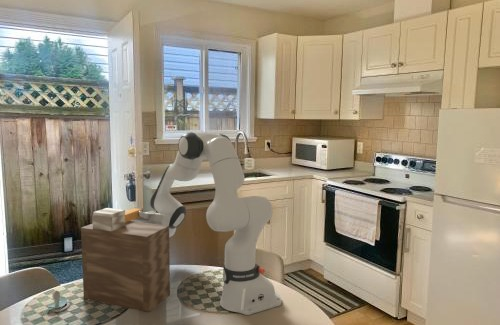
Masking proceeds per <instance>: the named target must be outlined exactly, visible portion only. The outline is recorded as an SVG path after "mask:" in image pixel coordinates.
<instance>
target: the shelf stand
mask: <svg viewBox="0 0 500 325" xmlns="http://www.w3.org/2000/svg"><path fill="white" fill-rule="evenodd" d="M125 210H126V209H120V208H119V209H118V208H111V207H105V208H103V209H99V210H96V211H95V210H94V211H93V214H92V215H91V218H92V223H91V224H88V225H85V226H82V227H80V236H81V263H82V285H83V287H82V288H83V292H82V293H83V299H84V298H85V299H84V300H88V299H89V300H88V301H92V300H93V302H97V301H98V303H102V302H103V303H104V304H108V305H112V306H116V305H117V306H118V307H121V308H126V309H131V310H136V311H140V312H145V313H149V312H151V311H152V310H154V309H155V308H156V307H157V306H158V305H159V304H161V303H162V302H163V301H164V300H166V299H167V298H168V297H169V296H171V285H170V284H171V281H170V279H171V277H170V276H171V274H170V273H171V272H170V271H171V270H170V267H171V266H170V264H171V263H170V261H171V260H170V257H171V256H170V237H169V226H167V225H159V224H151V223H142V222H134V221H129V222H126V223H125ZM103 303H102V304H103Z"/></svg>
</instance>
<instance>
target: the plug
mask: <svg viewBox="0 0 500 325" xmlns="http://www.w3.org/2000/svg"><path fill="white" fill-rule="evenodd" d="M138 211H142V212H144V208H143V207H134V208H131V209H128V211H125V223H126V222H129V221H131V220H134V219H136V218H139V217H140V216H138V215H137V214H138Z"/></svg>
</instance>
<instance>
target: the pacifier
mask: <svg viewBox="0 0 500 325" xmlns="http://www.w3.org/2000/svg"><path fill="white" fill-rule="evenodd" d="M52 300H54V301H53V302H54V303H53V304H51V305H47V306H46V307H47V308H48V309H52V310H53V312H55V313H59V312H63V311H65V310H67V309H68V308H69V307H70V305H71V304H70V303H69V302H68V298H67V297H65V296H61V293H60V291H59V290H54V291H53V292H52ZM65 304H66V306H65ZM61 307H62V308H61ZM60 308H61V309H60Z"/></svg>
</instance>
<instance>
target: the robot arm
mask: <svg viewBox="0 0 500 325" xmlns="http://www.w3.org/2000/svg"><path fill="white" fill-rule="evenodd" d="M177 145H178V147H177V148H178V151H177V154H176V157H175V160H174V161H173V163H170V164H169V165H168V166H167V167H166V169H165V170H164V172H163V174H162V177H161V179H160V181H159V183H158V186H157V187H156V189H155V191H154V192H153V194H152V196H151V197H150V203H149V204H150V205H149V206H150V207H151V208H152V210H150V211H147V212H144V211H143V212H142V211H138V214H137V215H138V216H140V217H139V218H136V219H134V220H131V221H134V222H142V223H151V224H159V225H167V226H169V238H170V237H173V236H174V235H175V233H176V231H177V227H179V226H180V225H181V224H182V223H183V221H185V218H186V214H187V209H186V206H184V205H183V204H182V203H181V202H180V201H179V200H178V199H176V198H175V197H174V196H173V195H172V194H171V192H170V190H171V189H172V186H173V183H174V182H175V181H178V182H189V181H192V180H194V179H195V178H196V177H197V176H198V174H199V173H200V170H201V166H202V163H203V161H208V164H209V168H210V171H211V173H212V174H211V175H212V177H213V178H212V179H213V181H214V187H215V193H214V198H213V201H212V202H211V203H210V204H209V206H208V207H207V210H206V213H205V215H206V216H205V220H206V223H207V225H208V227H209V228H210V229H211V230H213V231H214V232H224V233H225V232H232V231H235V232H234V234H233V235H232V236H231V237H230V238H229V239H228V240H227V241H226V243H225V245H224V264H223V267H222V268H223V270H222V280H223V286H222V294H221V296H220V301H219V305H220V306H221V307H222V308H223V309H224V310H226V311H229V312H234V313H238V314H242V315H244V316H250V315H253V314H256V313H260V312H264V311H266V310H270V309H273V308H276V307H279V306H281V305H282V298H281V296H280V295H279V294H278V292H276V290H275V285H274V284H273V283H272V281H271V280H270V279H268V278H267V277H266V276H264V273H265V272H266V271H265V268H264V267H262V266H260V265H259V264H257V262H256V255H257V254H256V253H257V252H256V250H257V244H258V240H259V237H260V235H261V232H262V230H264V227H265V226H266V225H267V223H269V222H270V220H271V218H272V216H273V206H272V202H270V200H269V198H267V197H265V196H258V195H250V196H243V197H239V195H238V189H240V188H241V187H242V186H243V184H244V182H245V174H244V170H243V167H242V165H241V161H240V159H239V156H238V154H237V150H236V149H235V147H234V144H233V143H232V141H231V140H230V138H229V136H227V135H225V134H222V133H213V132H207V131H206V132H205V131H204V132H203V131H200V132H193V131H191V132H186V133H183V134H181V136H180V138H179V140H178V143H177ZM124 210H125V211H128V210H129V209H128V210H127V209H124ZM153 210H154V211H153Z"/></svg>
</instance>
